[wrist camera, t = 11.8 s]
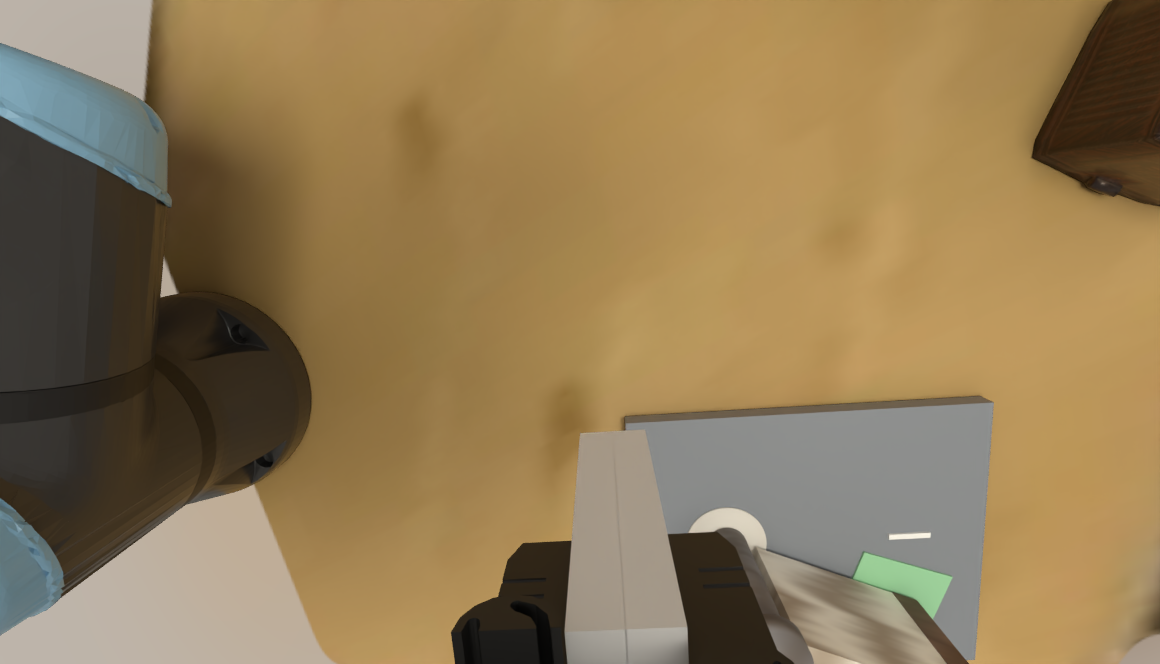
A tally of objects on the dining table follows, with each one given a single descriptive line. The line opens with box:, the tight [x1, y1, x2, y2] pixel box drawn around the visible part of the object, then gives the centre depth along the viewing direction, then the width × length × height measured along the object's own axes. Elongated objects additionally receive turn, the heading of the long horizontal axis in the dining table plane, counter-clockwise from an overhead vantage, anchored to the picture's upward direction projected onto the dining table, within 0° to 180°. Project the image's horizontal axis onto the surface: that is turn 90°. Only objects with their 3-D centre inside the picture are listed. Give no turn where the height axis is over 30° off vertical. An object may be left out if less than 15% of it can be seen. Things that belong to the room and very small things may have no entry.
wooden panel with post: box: [715, 528, 969, 664], centre depth 39 cm, size 17×4×12 cm, turn 71°
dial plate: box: [625, 396, 994, 660], centre depth 45 cm, size 26×21×2 cm
